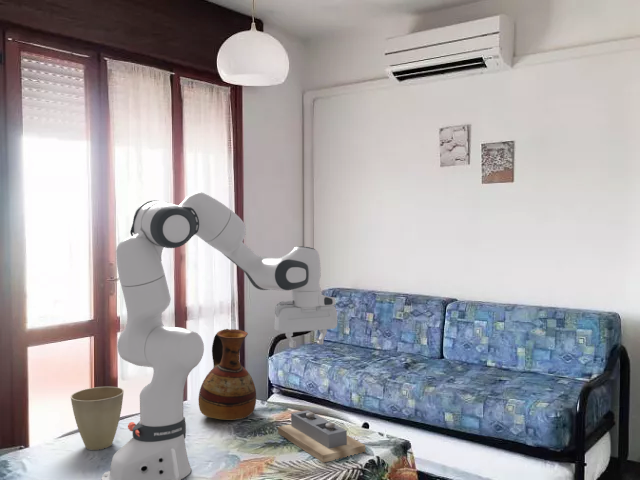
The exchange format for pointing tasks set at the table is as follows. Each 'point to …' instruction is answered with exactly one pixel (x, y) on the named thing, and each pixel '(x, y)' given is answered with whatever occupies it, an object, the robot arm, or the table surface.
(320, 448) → the board
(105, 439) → the plant pot
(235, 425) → the table surface
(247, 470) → the table surface
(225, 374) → the ceramic pitcher
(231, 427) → the table surface
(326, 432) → the block
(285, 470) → the table surface
